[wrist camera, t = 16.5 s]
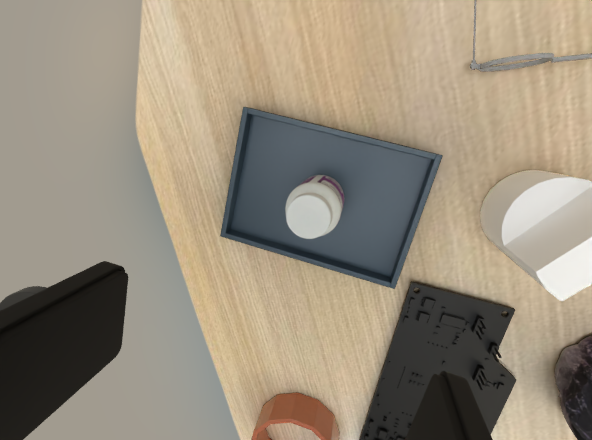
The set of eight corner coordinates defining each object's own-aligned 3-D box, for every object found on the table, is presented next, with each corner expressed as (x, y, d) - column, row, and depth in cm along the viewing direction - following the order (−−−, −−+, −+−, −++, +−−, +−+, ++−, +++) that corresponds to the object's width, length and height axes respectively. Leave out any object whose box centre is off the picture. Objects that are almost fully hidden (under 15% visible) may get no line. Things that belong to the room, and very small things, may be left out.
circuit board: (410, 279, 39) (414, 291, 36) (541, 314, 37) (556, 329, 34) (358, 441, 46) (357, 462, 43) (465, 477, 44) (472, 502, 41)
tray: (226, 231, 42) (220, 236, 40) (249, 107, 38) (243, 106, 36) (393, 281, 39) (394, 289, 37) (438, 154, 35) (442, 155, 33)
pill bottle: (301, 222, 39) (281, 248, 30) (295, 177, 38) (272, 190, 29) (347, 218, 38) (341, 244, 29) (342, 171, 37) (335, 183, 28)
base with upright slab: (516, 270, 36) (584, 332, 25) (461, 209, 36) (505, 244, 24) (597, 217, 33) (717, 260, 22) (539, 150, 33) (631, 159, 22)
